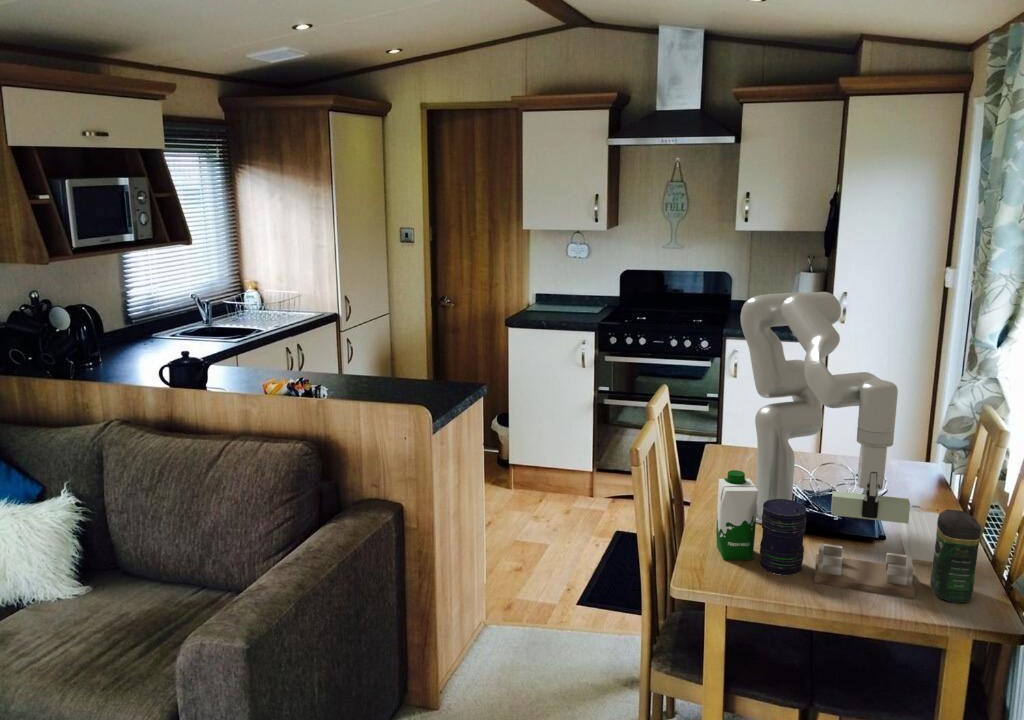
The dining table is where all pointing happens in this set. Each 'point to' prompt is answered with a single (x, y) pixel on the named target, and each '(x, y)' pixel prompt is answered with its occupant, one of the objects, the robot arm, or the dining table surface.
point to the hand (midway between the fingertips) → (869, 512)
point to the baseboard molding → (920, 536)
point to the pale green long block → (887, 507)
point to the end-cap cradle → (865, 572)
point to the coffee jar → (955, 556)
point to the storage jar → (782, 536)
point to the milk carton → (736, 516)
